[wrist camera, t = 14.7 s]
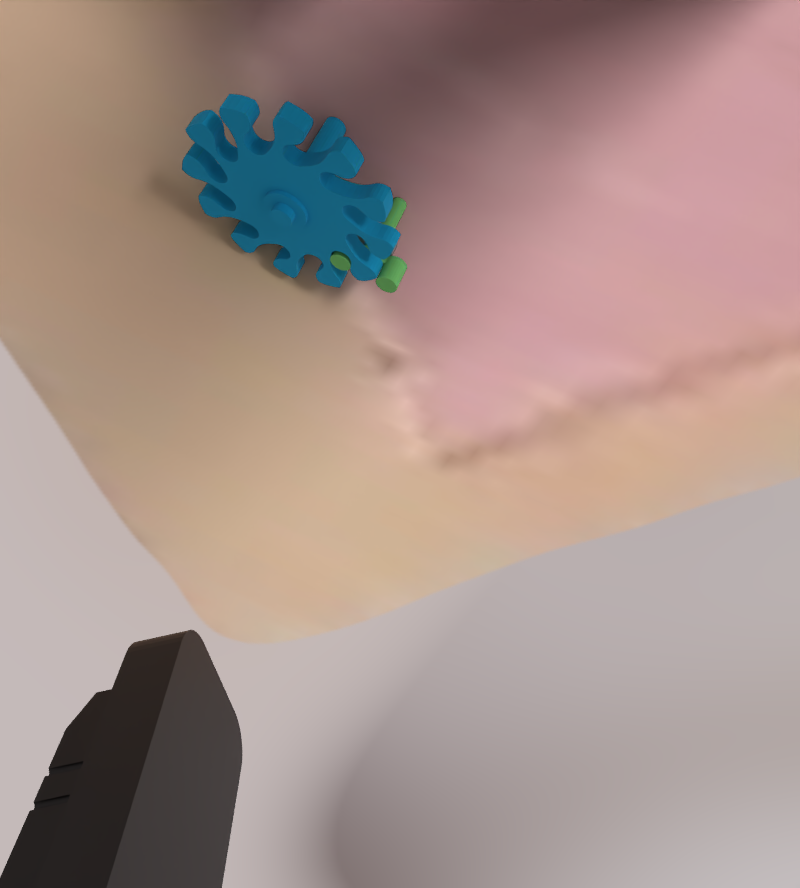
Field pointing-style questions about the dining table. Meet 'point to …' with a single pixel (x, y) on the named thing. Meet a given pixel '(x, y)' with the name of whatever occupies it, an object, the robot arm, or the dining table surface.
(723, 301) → the dining table surface
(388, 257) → the gear
